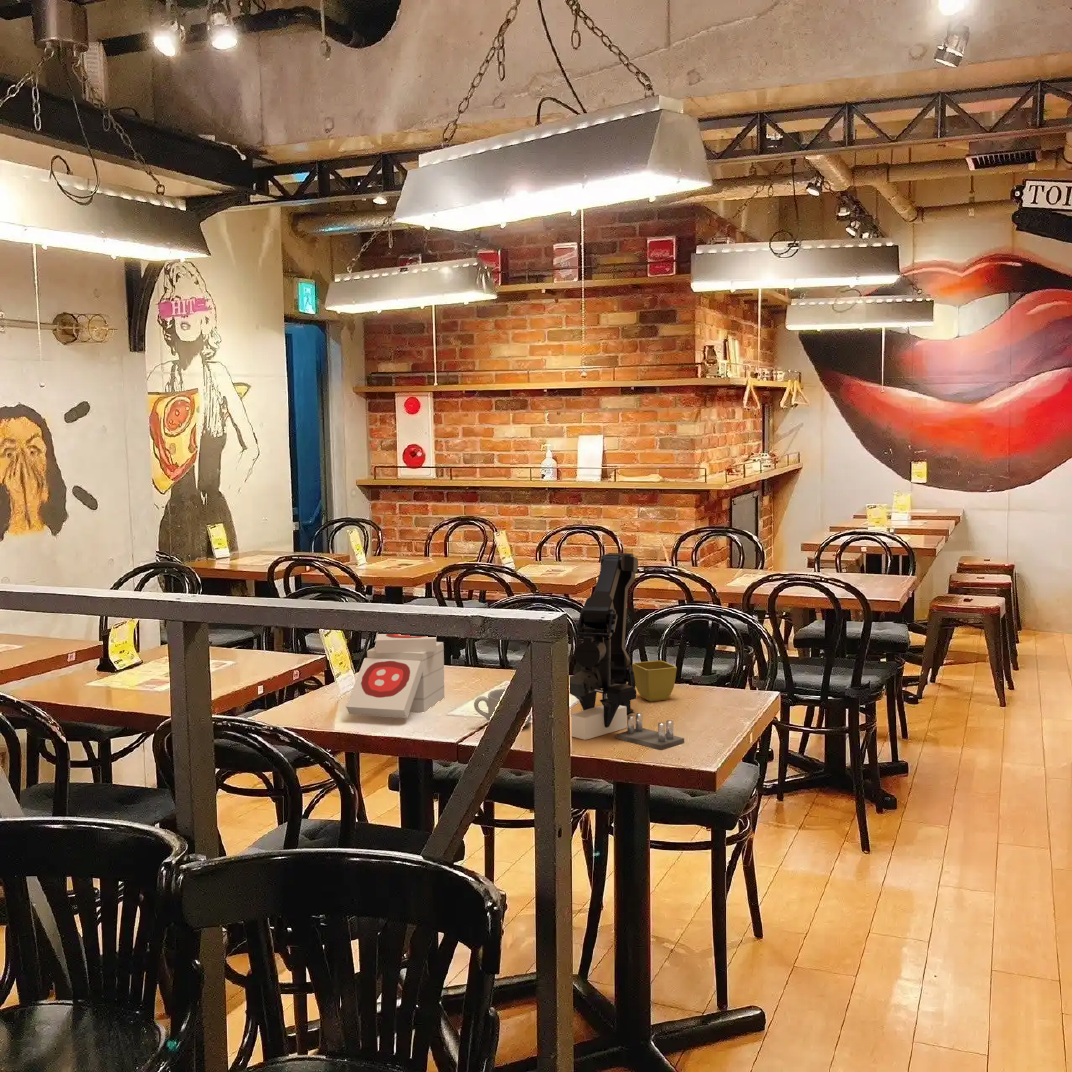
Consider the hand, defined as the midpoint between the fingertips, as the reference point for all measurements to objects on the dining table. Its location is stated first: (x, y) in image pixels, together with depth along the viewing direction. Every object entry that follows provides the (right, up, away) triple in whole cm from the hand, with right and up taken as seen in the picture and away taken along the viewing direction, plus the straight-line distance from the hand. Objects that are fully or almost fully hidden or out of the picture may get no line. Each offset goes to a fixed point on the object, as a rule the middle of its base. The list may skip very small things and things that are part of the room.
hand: (598, 725), depth 259 cm
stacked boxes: (-48, 0, +23) cm, 54 cm away
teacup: (-22, -2, +6) cm, 23 cm away
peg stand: (+11, -2, -7) cm, 13 cm away
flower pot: (+16, +1, +31) cm, 35 cm away
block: (0, -2, 0) cm, 2 cm away
